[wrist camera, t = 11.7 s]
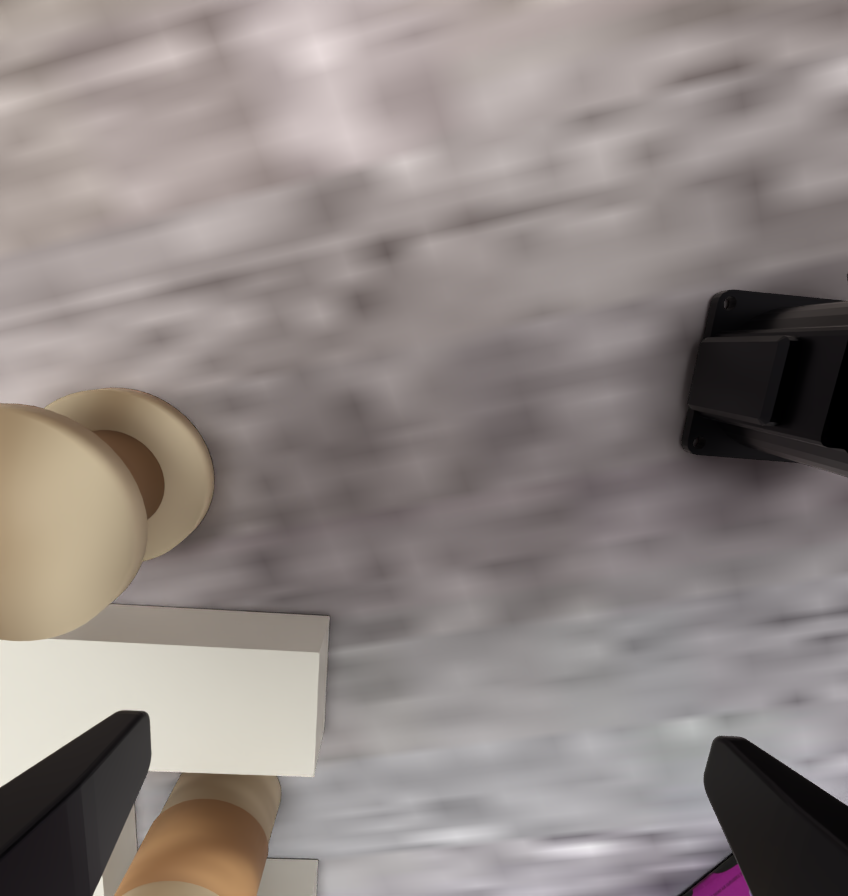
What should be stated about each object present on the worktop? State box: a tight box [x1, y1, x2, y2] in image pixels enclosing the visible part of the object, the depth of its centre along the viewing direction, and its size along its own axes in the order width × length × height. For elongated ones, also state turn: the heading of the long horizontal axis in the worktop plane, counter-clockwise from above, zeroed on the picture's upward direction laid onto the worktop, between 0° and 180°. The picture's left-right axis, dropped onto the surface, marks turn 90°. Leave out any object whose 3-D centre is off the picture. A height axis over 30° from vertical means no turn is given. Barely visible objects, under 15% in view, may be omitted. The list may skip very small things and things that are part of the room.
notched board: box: [0, 604, 330, 896], centre depth 21 cm, size 13×20×2 cm, turn 175°
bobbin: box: [0, 388, 214, 641], centre depth 16 cm, size 7×7×6 cm
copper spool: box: [114, 772, 281, 896], centre depth 19 cm, size 5×5×8 cm
